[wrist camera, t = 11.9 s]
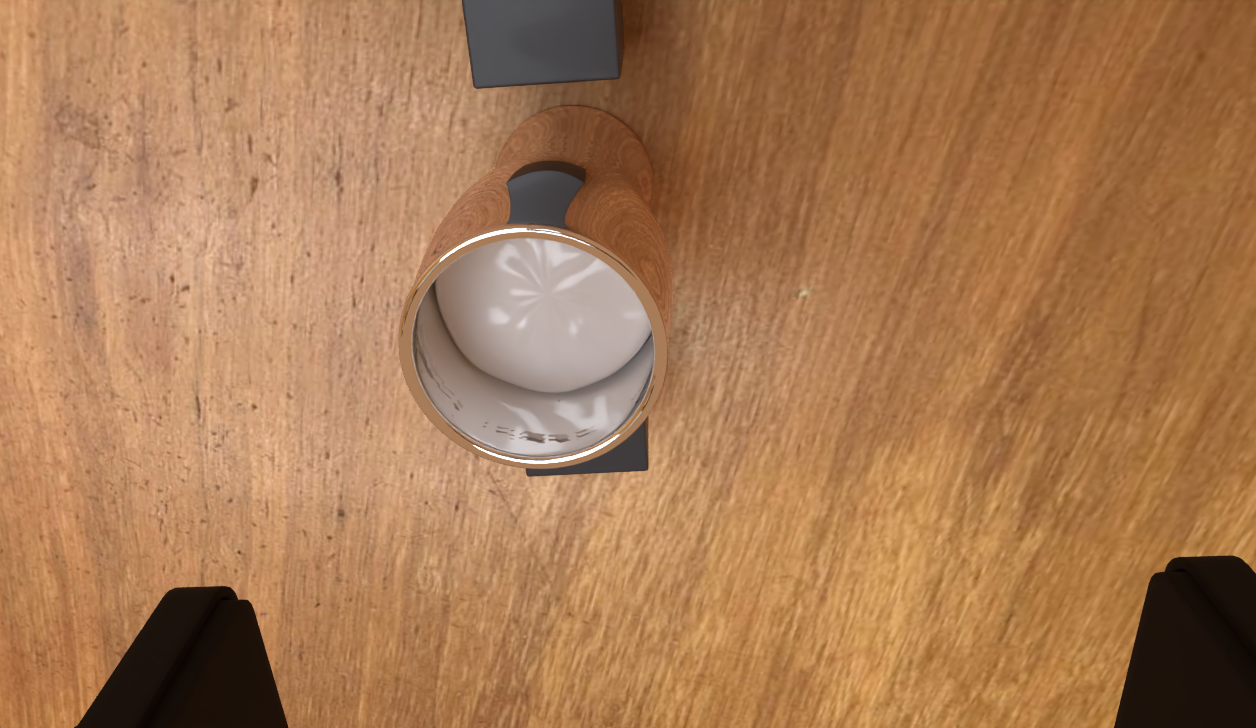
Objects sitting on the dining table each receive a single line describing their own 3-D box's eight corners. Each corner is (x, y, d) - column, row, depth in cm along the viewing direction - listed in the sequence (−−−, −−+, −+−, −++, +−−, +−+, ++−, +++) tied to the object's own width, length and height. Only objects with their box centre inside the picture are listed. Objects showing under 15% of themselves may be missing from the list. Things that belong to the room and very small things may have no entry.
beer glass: (451, 213, 37) (341, 394, 24) (540, 54, 35) (473, 158, 21) (604, 302, 39) (582, 520, 26) (701, 157, 36) (733, 315, 23)
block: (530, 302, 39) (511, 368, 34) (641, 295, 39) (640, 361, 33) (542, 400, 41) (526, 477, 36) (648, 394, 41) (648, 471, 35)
